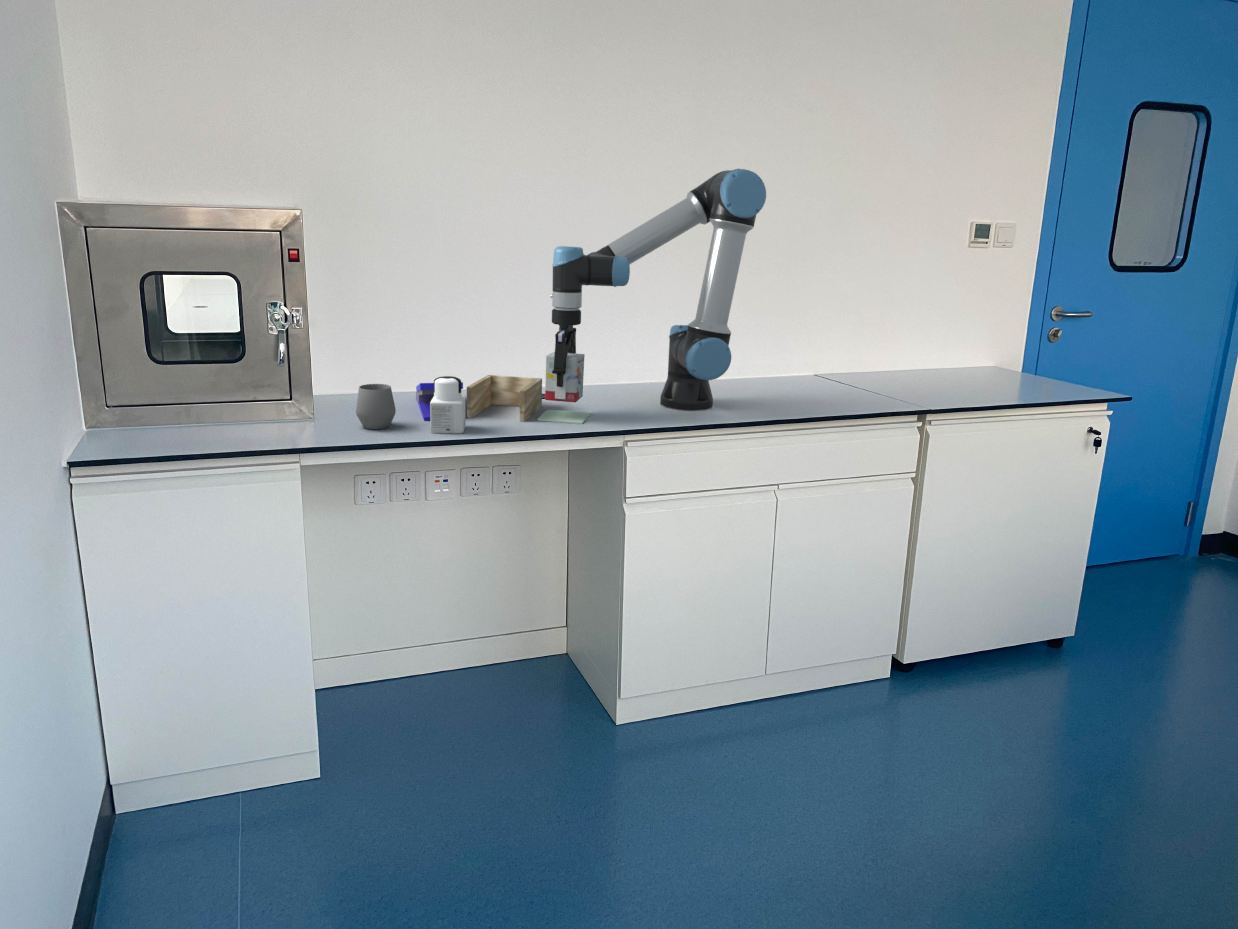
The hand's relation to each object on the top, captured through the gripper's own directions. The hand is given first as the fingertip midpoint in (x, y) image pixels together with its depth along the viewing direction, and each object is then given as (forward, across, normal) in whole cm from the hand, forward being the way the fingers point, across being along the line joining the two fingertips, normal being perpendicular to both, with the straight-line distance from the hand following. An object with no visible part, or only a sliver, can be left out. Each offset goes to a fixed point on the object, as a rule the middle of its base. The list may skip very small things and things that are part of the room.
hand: (564, 395), depth 231 cm
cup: (+7, +24, -42) cm, 49 cm away
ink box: (+1, 0, 0) cm, 1 cm away
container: (+6, +22, -24) cm, 33 cm away
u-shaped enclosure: (+6, -1, -16) cm, 17 cm away
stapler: (+7, 0, -34) cm, 35 cm away
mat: (+6, 0, 0) cm, 6 cm away
